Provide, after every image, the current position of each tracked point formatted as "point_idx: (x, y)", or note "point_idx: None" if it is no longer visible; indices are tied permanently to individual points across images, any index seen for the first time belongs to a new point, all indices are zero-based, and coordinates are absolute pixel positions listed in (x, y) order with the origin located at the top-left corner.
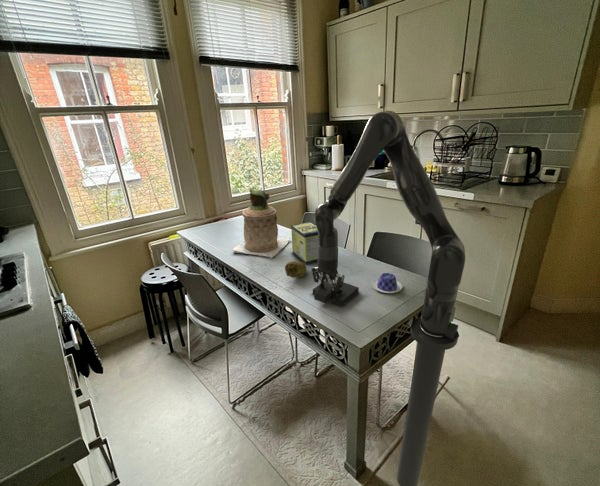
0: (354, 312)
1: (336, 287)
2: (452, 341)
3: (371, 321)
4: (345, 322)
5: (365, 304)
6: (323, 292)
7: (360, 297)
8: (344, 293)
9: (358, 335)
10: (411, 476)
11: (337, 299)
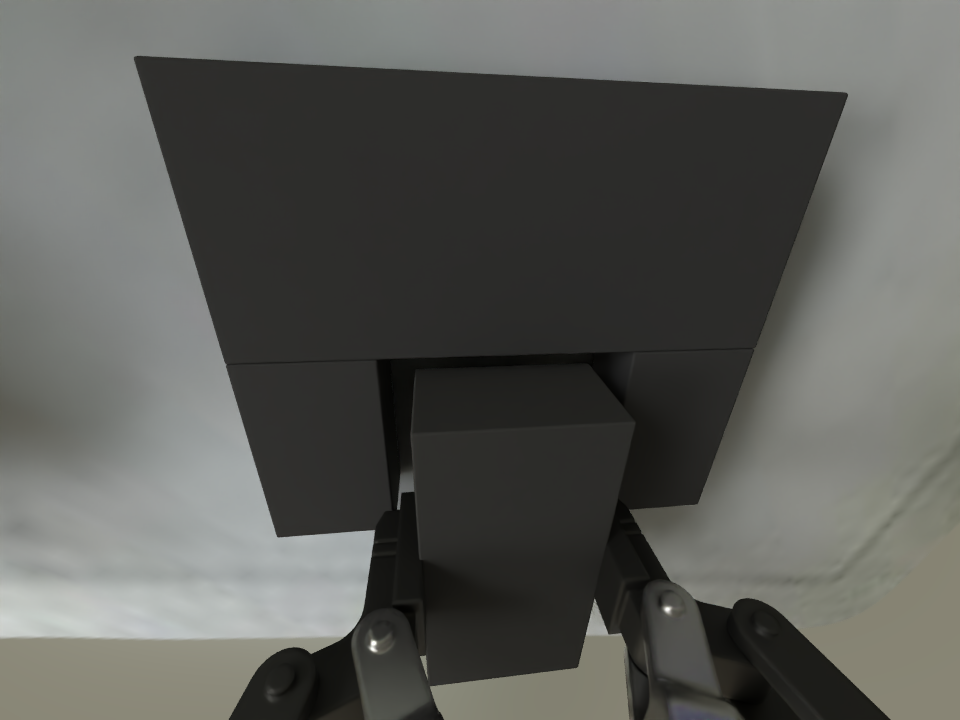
0: (781, 459)
1: (743, 717)
2: None
3: (918, 468)
4: (741, 566)
5: (869, 303)
6: (513, 639)
7: None
8: (676, 390)
9: (837, 593)
10: None
11: (636, 503)
